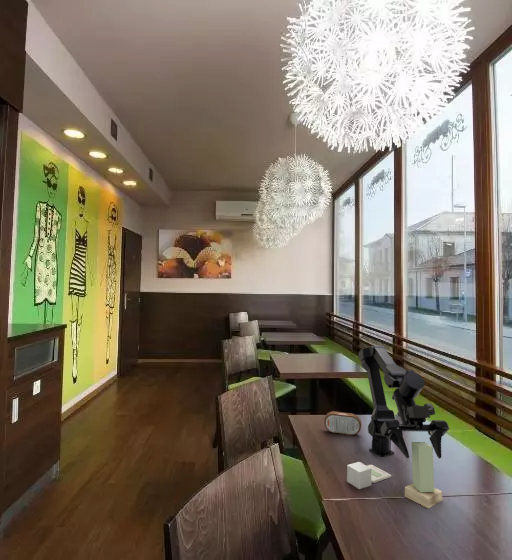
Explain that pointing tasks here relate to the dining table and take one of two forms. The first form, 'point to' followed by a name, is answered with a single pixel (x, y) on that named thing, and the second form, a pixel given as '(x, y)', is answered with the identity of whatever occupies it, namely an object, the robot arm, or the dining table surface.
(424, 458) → the sage block
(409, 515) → the dining table surface
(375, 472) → the card
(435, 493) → the maple base
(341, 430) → the tin
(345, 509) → the dining table surface
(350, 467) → the grey cube
